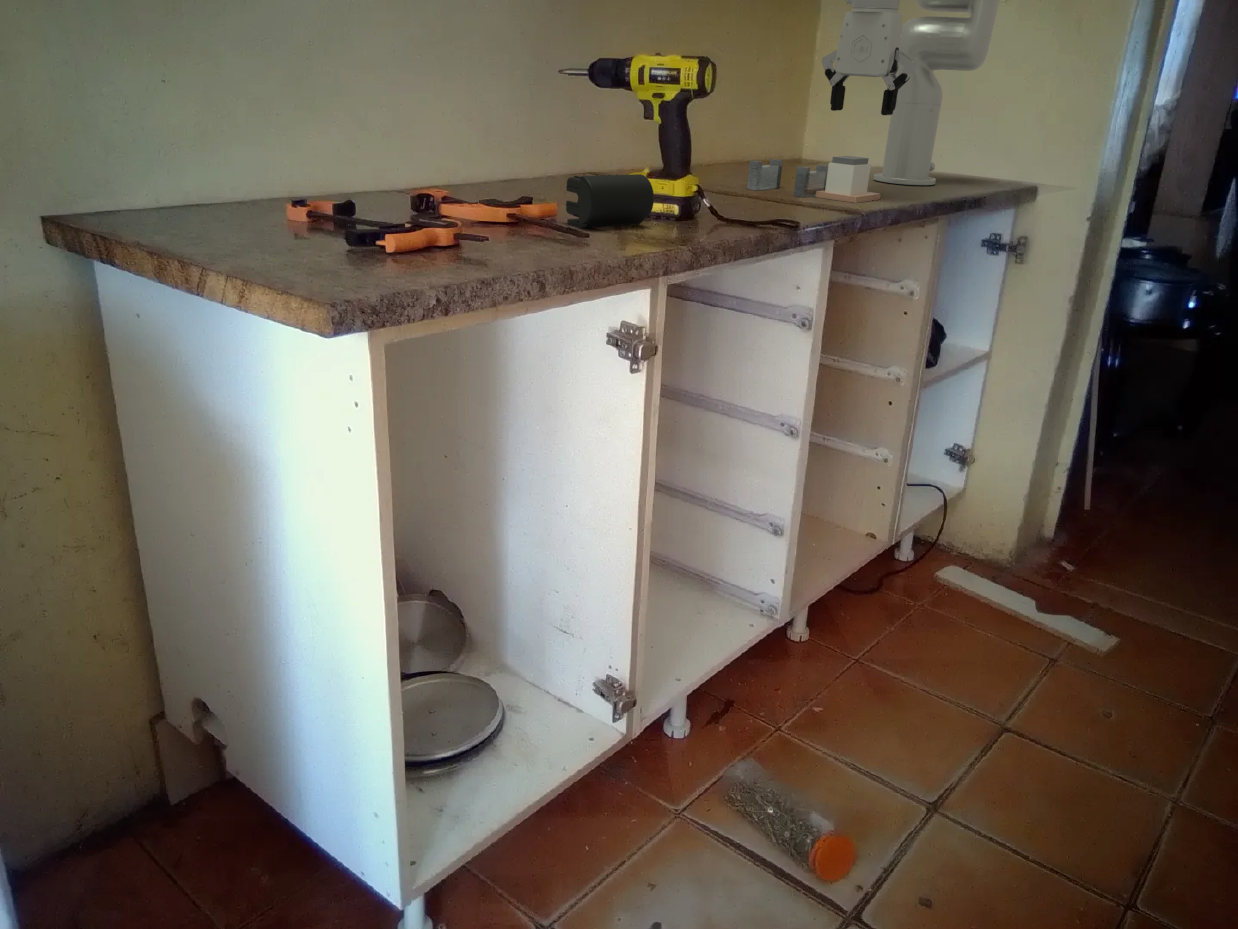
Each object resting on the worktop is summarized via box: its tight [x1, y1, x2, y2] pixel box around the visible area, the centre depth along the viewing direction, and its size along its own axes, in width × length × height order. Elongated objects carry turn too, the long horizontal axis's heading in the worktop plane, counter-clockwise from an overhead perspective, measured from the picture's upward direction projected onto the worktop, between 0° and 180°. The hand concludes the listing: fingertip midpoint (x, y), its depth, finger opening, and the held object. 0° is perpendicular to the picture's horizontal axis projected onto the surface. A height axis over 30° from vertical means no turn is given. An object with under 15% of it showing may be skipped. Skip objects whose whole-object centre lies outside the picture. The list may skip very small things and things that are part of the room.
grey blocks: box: [746, 158, 828, 198], centre depth 173 cm, size 8×12×5 cm, turn 49°
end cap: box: [565, 173, 655, 229], centre depth 127 cm, size 10×7×7 cm
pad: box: [815, 190, 882, 204], centre depth 169 cm, size 9×8×1 cm
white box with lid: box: [825, 155, 872, 196], centre depth 167 cm, size 6×5×6 cm
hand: (861, 112), depth 164 cm, fingers open, 9 cm apart
